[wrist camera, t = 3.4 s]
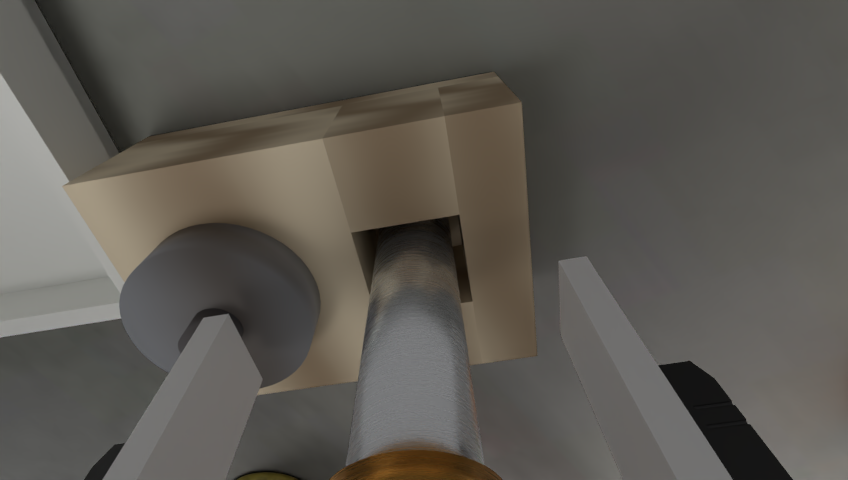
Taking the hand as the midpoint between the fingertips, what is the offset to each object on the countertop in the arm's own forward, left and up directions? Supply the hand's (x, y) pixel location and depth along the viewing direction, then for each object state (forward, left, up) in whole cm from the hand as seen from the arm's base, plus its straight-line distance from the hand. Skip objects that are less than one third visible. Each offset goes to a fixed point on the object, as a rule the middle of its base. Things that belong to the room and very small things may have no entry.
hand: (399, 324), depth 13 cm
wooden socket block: (-3, 0, -8) cm, 8 cm away
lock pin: (0, 0, -7) cm, 7 cm away
